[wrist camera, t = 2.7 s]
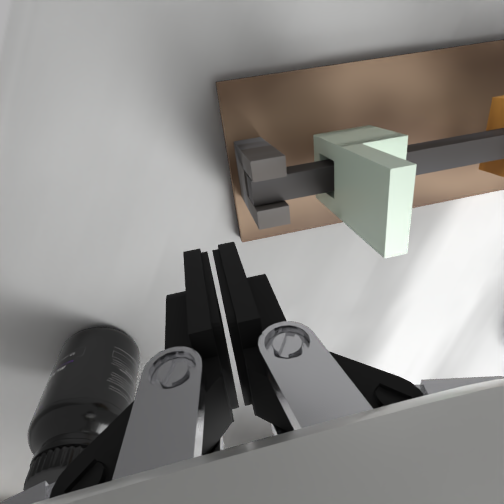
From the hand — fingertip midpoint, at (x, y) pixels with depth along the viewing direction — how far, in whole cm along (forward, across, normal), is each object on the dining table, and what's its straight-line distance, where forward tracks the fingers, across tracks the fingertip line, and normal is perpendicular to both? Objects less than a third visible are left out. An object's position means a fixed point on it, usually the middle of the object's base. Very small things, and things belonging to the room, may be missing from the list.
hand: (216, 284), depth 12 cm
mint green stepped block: (+13, -10, +1) cm, 16 cm away
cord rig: (+16, -16, +1) cm, 23 cm away
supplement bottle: (+16, +12, +16) cm, 26 cm away
